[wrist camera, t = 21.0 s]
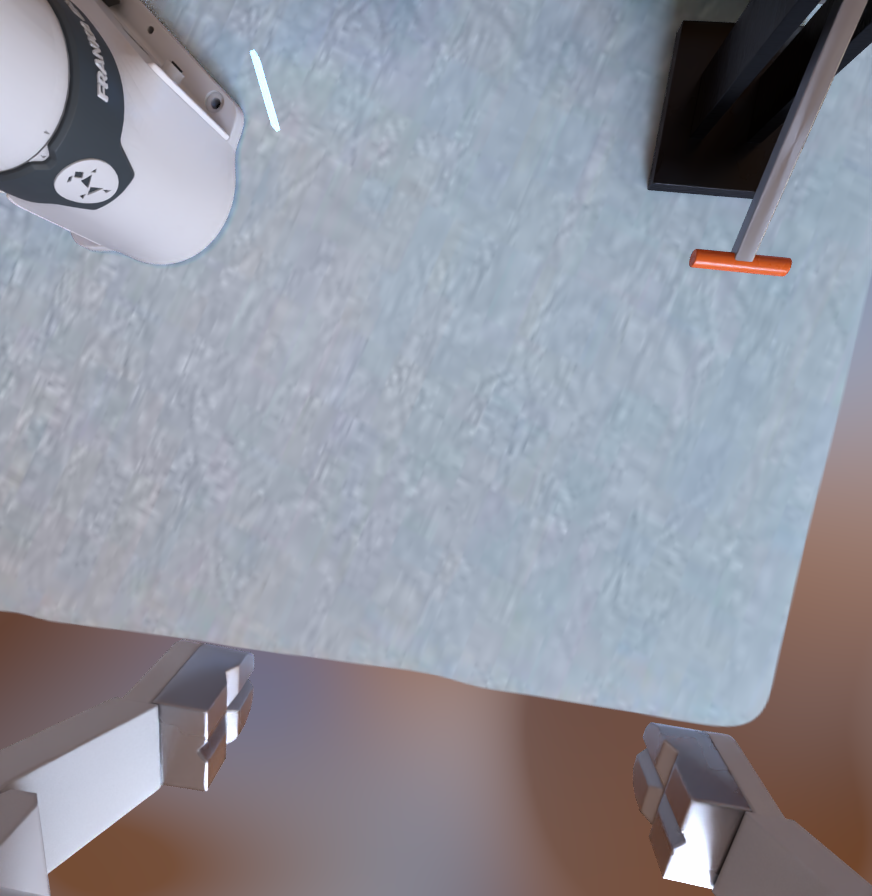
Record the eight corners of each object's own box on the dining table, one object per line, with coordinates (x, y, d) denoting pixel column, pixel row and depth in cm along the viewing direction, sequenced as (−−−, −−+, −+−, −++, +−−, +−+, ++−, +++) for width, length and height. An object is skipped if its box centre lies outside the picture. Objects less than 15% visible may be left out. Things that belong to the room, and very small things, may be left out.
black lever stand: (769, 200, 35) (993, 49, 19) (647, 190, 36) (766, 38, 20) (805, 39, 33) (1081, -267, 18) (676, 32, 34) (830, -265, 19)
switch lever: (773, 271, 30) (790, 281, 28) (684, 262, 30) (694, 271, 29) (948, -98, 21) (991, -120, 19) (815, -101, 21) (843, -123, 19)
